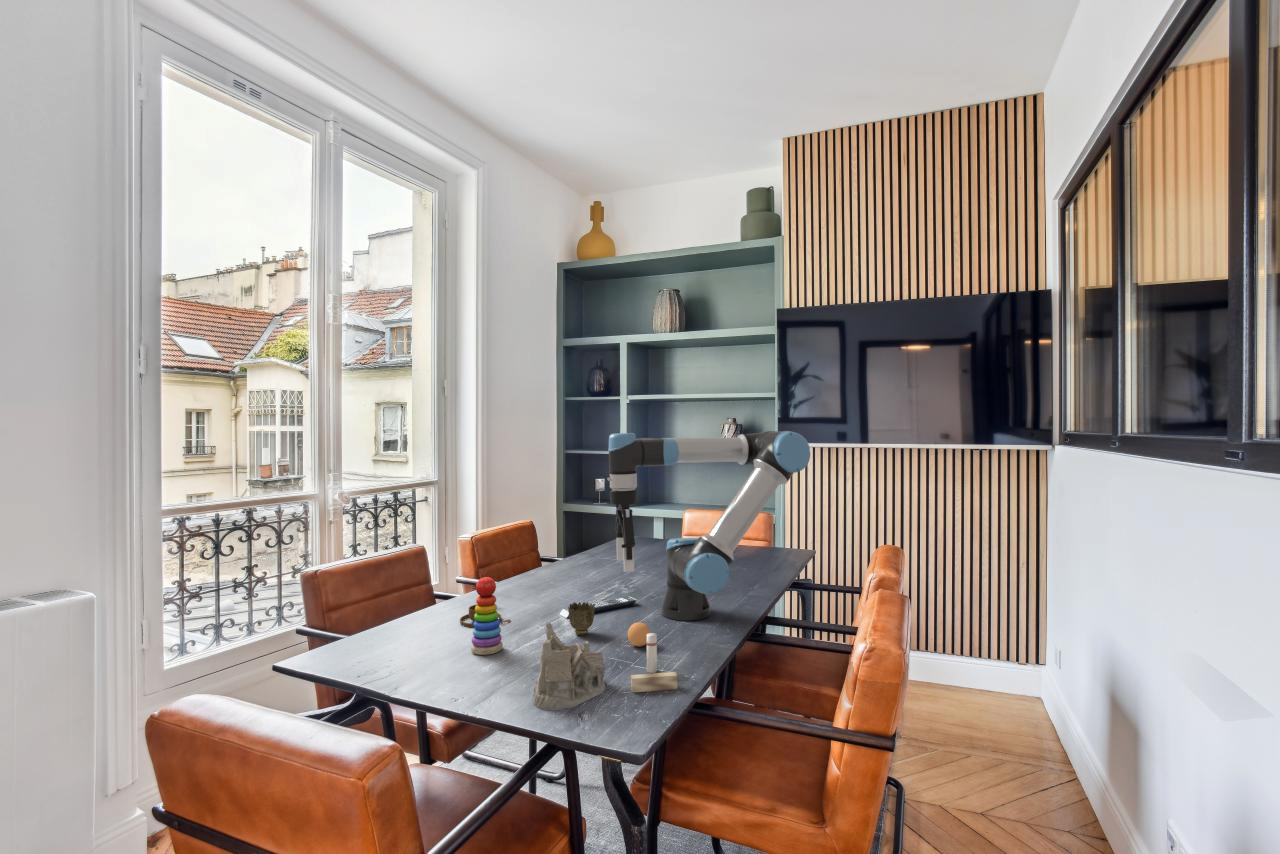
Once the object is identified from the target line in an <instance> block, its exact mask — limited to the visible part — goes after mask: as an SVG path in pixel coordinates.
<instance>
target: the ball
mask: <svg viewBox="0 0 1280 854" xmlns="http://www.w3.org/2000/svg"><path fill="white" fill-rule="evenodd" d="M648 633H651V630H650V628H649V626H648V625H647V624H646V623H643V622H639V621H638V622H635V623H632V624H631V625H630V626H629V628H628V631H627V638H628V641H629V643H630V644H632V645H633V646H635V647H643V646H645V645H647V644H646V641H647V634H648Z"/></svg>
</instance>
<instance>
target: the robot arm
mask: <svg viewBox="0 0 1280 854" xmlns="http://www.w3.org/2000/svg"><path fill="white" fill-rule="evenodd" d="M607 451H608V463H609V464H608V465H609V466H608V468H609V477H607V478H606V479H607V481H608V482H609V489H611V490H610V491H609V502H610V504H612V505H615V530H614V533H615V537H616V539H615V540H616V562H623V572H624V573H629V572H634V573H635V552H634V551H635V546H636V541H635V531H634V521H633V509H632V508H630V505H634V504H637V502H638V490H637V489H636V488H637V487H638V479H637V477H638V473H637V468H638V467H667V466H674V465H676V464H677V463H731V462H732V463H734V462H736V463H737V464H739V465H740V466H742V465H743V466H747V465H748V466H753V467H754V468H753V470H752V471H751V472H750V474H749V475H748V476H747V478H746V480H745V481H744V482H743V484H742V485H741V487H740V488H739V490H738V491H737V492H736V494H735V495H734V497H732V499H731V501H730V502H729V504H728V505H727V507H726V508H725V510H723V513H722V514H721V515H720V516H719V518H718V520H716V522H715V523H714V525H713V527H712V528H711V529H710V531H709V533H707V534H705V535H704V534H703V535H700V536H699V537H677V538H670V539H669V540H667V543H666V549H665V552H666V589H665V592H664V595H663V599H662V602H661V605H660V614H661V615H662V616H664V617H665V618H667V619H672V620H676V621H698V620H703V619H706V617H707V618H708V617H710V616H711V613H712V612H711V611H712V610H711V604H710V601H709V597H708V595H711V594H714V593H717V592H718V591H720V590H722V589H723V587H725V586H726V584H727V582H728V580H729V578H730V566H731V565H732V563H733V562H734V560H735V558H734V551H735V549H736V548H737V546H738V545H739V544H740V542H741V541H742V539H743V538H744V536H745V535H746V533H747V532H748V531H749V529H750V527H751V526H752V525H753V523H754V522H755V520H757V518H758V516H759V514H760V513H761V512H762V510H763V509H764V508H765V506H766V505H767V504H768V501H770V498H771V497H772V496H773V494H774V493H775V491H776V490H777V488H778V487H779V486H780V485H786V484H787V483H788V482H789V480H790V479H791V477H792V476H793V475H794V474H795V473H799V472H801V471H803V470H804V469H806V467H807V466H808V465H809V462H810V460H811V449H810V444H809V442H808V440H807V439H806V437H804V436H803V435H801V434H800V433H799V432H794V431H790V430H784V431H778V430H777V431H775V430H767V431H761V432H756V433H755V432H754V433H741V434H738V435H737V437H736V436H735V437H734V436H733V437H660V438H659V437H639V438H637V437H636V433H633V432H628V433H627V432H625V433H623V432H622V433H619V432H618V433H616V432H615V433H611V434H610V435H609V437H608V450H607ZM709 615H710V616H709Z"/></svg>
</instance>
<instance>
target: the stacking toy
mask: <svg viewBox="0 0 1280 854" xmlns="http://www.w3.org/2000/svg"><path fill="white" fill-rule="evenodd" d="M475 590H476V591H475V592H476V593H477V594H478V597H476V599H475V601H476V605H477V604H478V605H477V606H476V607H475V611H476V613H475V615H474V618H475V620H476V621H475V622H474V621H473V624H474V627H475V628H473V631H472V638H471V643H472V644H471V646H470V650H471V652H472V653H473V654H475V655H481V656H486V655H493V654H496V653H498V652H500V651H501V650H502V649H503V647H504V645H503V642H502V640H503V639H502V634H501V632H502V629H501V626H499V625H501V623H500V622H501V621H499V619H498V613H499V612H498V611H497V609H498V605H497V604H496V601H497V597H496V596H495V595H494V594H495V592H496V590H497V583H496V581H495V580H494V579H493V578H492V577H489V576H485V577H484V576H483V577H481V578H480V579H479V580H478V581H477V582H476V583H475Z"/></svg>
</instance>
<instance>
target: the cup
mask: <svg viewBox="0 0 1280 854" xmlns="http://www.w3.org/2000/svg"><path fill="white" fill-rule="evenodd" d="M595 609H596V605H595V603H592V602H590V604H589V602H588V601H586V602H585V601H583V602H582V603H581V601H579V602H578V603H576V602H572V603H570V604H569V606H567V610H568V617H569V623H570V627H572V628H573V629H574V633H575V634H576V636H581V637H582V636H586V635H587V634H589V629H590V628H591V627H592V626H593V623H594V618H595V617H594V616H595Z"/></svg>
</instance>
